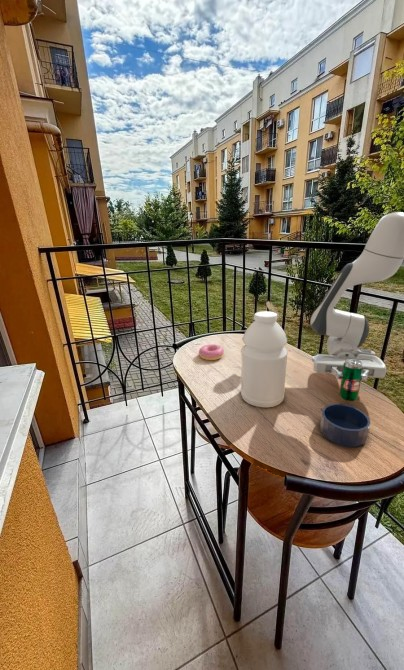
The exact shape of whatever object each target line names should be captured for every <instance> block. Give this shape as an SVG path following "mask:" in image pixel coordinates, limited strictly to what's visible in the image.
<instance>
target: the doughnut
mask: <svg viewBox="0 0 404 670" xmlns="http://www.w3.org/2000/svg"><path fill="white" fill-rule="evenodd" d="M224 354H225V350H224V348H223V347H222V346H221V345H218V344H214V343H213V344H205V345H203V346H201V347H200V348H199V349H198V355H199V357H200V358H201V359H203V360H205V361H217V360H219V359H221V358H222V357H223V356H224Z"/></svg>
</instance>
